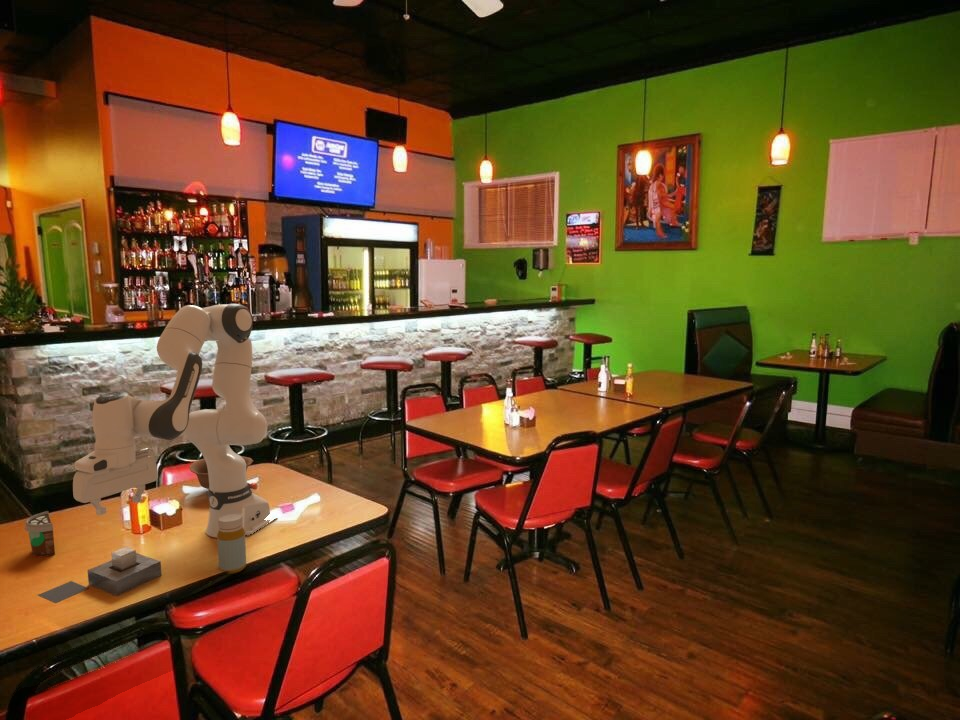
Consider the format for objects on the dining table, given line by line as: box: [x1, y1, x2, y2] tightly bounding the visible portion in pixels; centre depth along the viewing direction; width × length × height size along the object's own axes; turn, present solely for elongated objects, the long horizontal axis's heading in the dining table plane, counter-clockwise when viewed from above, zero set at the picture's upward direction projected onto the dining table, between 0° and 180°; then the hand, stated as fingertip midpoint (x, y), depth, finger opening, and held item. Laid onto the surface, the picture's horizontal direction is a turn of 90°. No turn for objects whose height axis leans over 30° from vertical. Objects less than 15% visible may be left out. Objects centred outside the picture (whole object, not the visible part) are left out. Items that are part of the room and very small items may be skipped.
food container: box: [24, 510, 56, 557], centre depth 176 cm, size 12×6×10 cm, turn 40°
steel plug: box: [110, 546, 137, 572], centre depth 159 cm, size 4×4×8 cm
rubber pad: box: [37, 580, 90, 604], centre depth 153 cm, size 8×8×1 cm
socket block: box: [87, 552, 162, 597], centre depth 159 cm, size 12×12×5 cm
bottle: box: [217, 513, 247, 575], centre depth 167 cm, size 7×7×15 cm
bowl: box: [188, 455, 254, 490], centre depth 227 cm, size 22×22×11 cm
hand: (119, 507), depth 156 cm, fingers open, 8 cm apart
